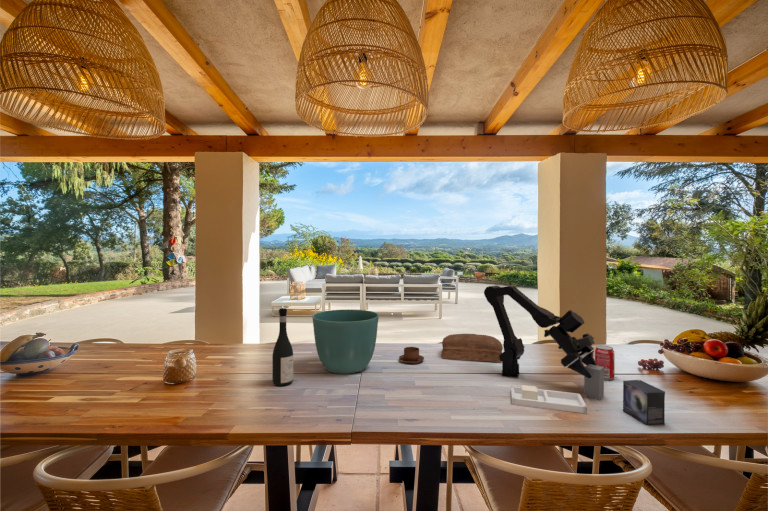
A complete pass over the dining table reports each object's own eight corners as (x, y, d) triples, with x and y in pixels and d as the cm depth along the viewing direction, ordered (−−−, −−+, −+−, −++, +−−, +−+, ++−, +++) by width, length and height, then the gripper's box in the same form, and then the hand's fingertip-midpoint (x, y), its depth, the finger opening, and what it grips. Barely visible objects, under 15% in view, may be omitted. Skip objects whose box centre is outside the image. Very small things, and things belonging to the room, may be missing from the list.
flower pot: (363, 382, 149) (364, 323, 149) (299, 374, 159) (299, 318, 158) (387, 361, 178) (387, 311, 177) (331, 355, 187) (331, 308, 187)
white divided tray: (511, 407, 127) (511, 398, 127) (511, 394, 138) (511, 386, 138) (586, 416, 120) (587, 407, 120) (579, 402, 131) (579, 393, 131)
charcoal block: (584, 396, 136) (584, 366, 136) (588, 393, 139) (589, 364, 139) (599, 400, 132) (599, 370, 132) (603, 396, 136) (604, 367, 136)
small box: (621, 410, 124) (621, 379, 124) (639, 410, 125) (639, 379, 125) (646, 425, 114) (646, 391, 114) (665, 424, 114) (666, 391, 114)
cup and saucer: (394, 359, 182) (395, 347, 181) (416, 356, 186) (416, 344, 186) (405, 366, 170) (406, 353, 170) (428, 363, 175) (428, 350, 175)
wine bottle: (297, 381, 150) (297, 308, 150) (284, 388, 143) (284, 310, 143) (281, 378, 154) (281, 306, 153) (268, 384, 146) (268, 309, 146)
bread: (503, 364, 175) (503, 340, 175) (440, 359, 182) (440, 336, 182) (501, 354, 191) (501, 332, 191) (443, 350, 199) (443, 329, 198)
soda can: (617, 381, 152) (617, 349, 152) (598, 380, 153) (598, 348, 153) (610, 375, 159) (610, 345, 159) (592, 374, 160) (592, 344, 160)
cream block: (522, 401, 129) (522, 390, 129) (521, 396, 134) (521, 385, 134) (537, 403, 127) (537, 391, 127) (536, 397, 132) (536, 386, 132)
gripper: (570, 330, 133) (604, 368, 125) (588, 323, 146) (620, 357, 138) (547, 348, 139) (579, 385, 131) (567, 340, 152) (596, 373, 144)
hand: (594, 374), depth 136 cm, fingers open, 9 cm apart
